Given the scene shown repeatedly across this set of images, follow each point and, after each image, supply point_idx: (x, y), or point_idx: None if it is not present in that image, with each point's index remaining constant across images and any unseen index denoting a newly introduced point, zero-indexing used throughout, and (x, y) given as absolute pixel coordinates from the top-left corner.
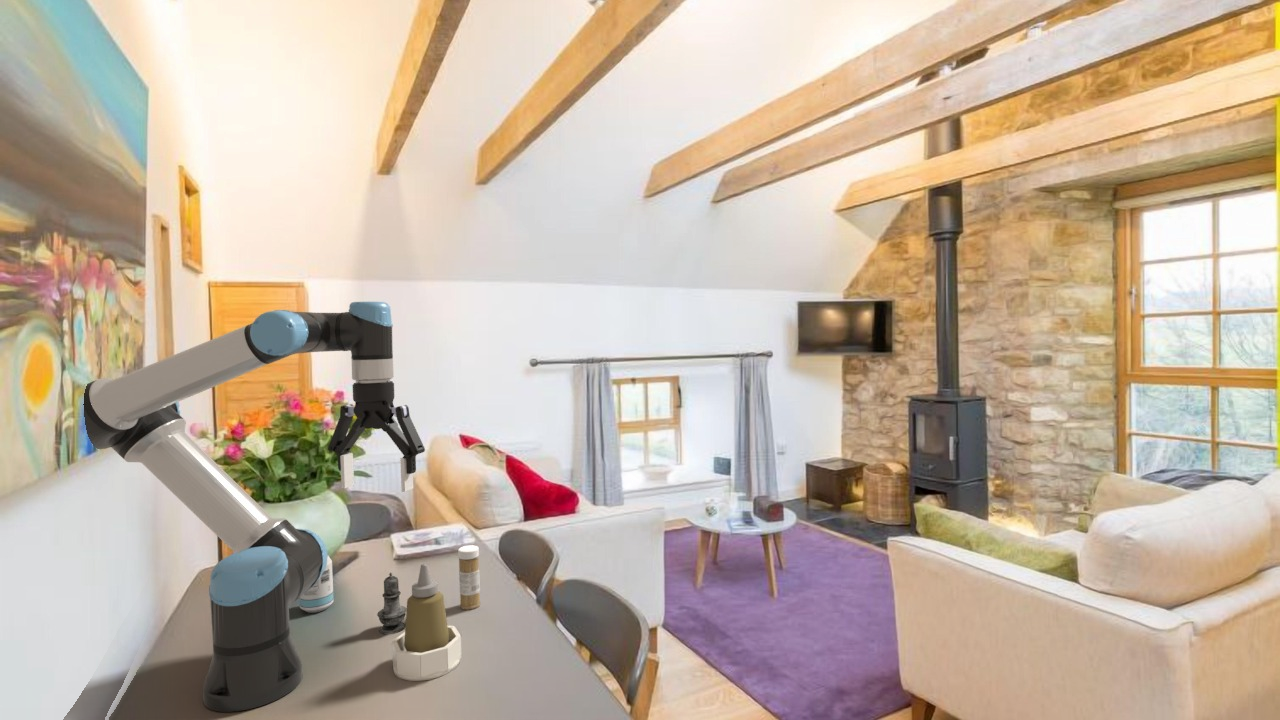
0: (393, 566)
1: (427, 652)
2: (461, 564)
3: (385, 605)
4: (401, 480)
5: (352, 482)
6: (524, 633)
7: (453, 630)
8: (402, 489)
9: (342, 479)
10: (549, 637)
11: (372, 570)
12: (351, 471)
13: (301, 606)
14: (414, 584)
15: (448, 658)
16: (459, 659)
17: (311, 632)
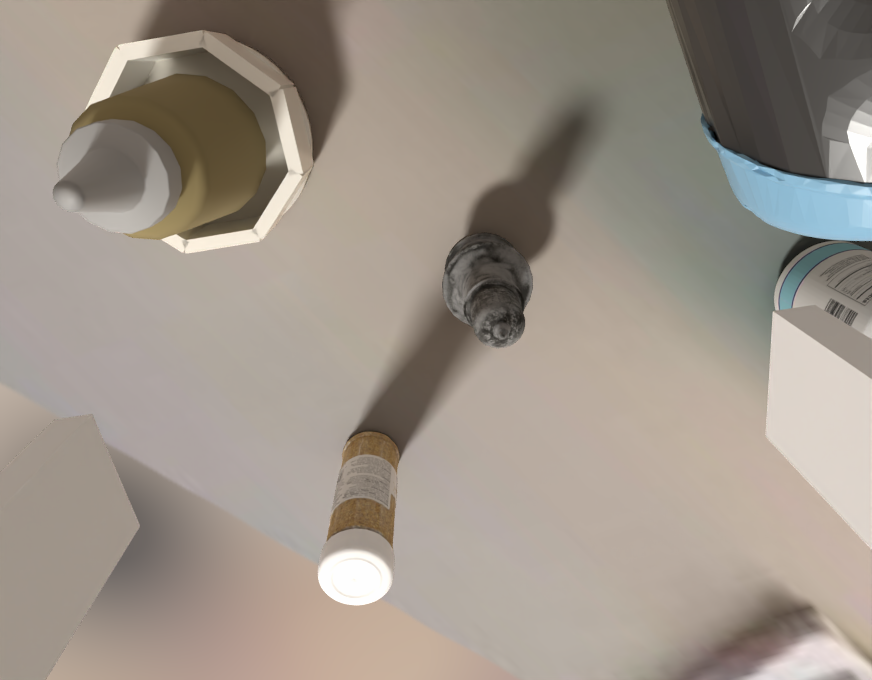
0: (779, 570)
1: (110, 71)
2: (364, 516)
3: (496, 273)
4: (23, 481)
5: (783, 433)
6: (110, 380)
7: None
8: (72, 427)
9: (859, 344)
10: (34, 386)
11: (825, 531)
12: (864, 505)
13: (851, 243)
14: (152, 160)
15: None
16: None
17: (709, 154)
